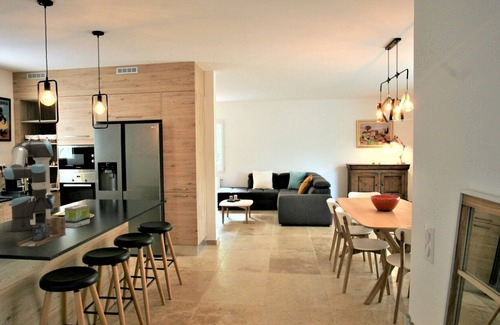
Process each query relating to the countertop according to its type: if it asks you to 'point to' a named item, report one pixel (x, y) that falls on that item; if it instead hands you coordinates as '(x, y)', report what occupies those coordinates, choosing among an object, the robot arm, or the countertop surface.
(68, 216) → the tea box
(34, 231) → the box
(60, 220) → the track
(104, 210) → the countertop surface
